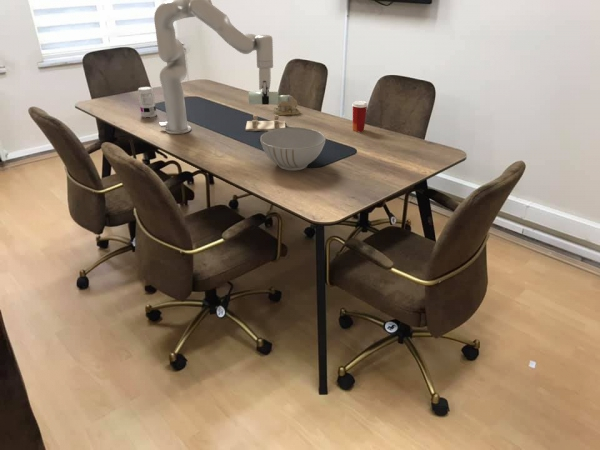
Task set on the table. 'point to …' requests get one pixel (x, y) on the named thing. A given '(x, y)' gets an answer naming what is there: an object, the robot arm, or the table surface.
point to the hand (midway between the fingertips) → (265, 102)
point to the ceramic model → (287, 107)
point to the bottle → (273, 98)
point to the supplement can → (147, 101)
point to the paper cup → (359, 115)
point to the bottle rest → (264, 124)
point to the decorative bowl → (292, 146)
